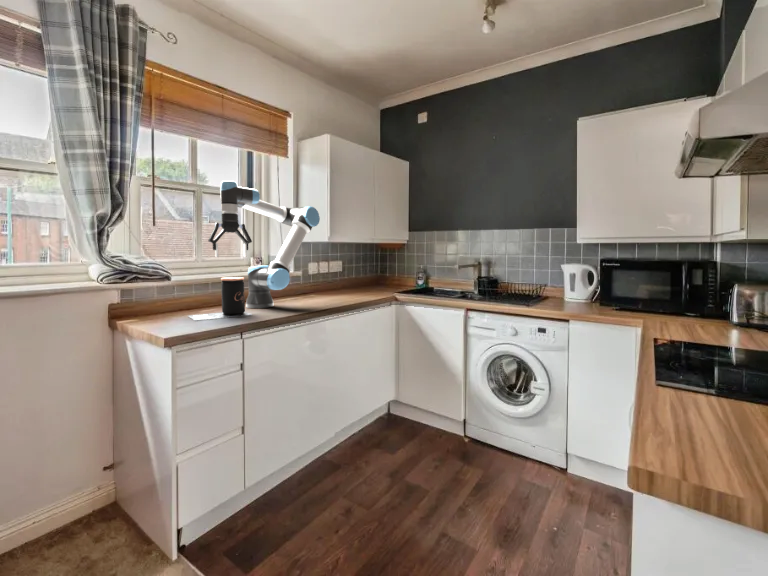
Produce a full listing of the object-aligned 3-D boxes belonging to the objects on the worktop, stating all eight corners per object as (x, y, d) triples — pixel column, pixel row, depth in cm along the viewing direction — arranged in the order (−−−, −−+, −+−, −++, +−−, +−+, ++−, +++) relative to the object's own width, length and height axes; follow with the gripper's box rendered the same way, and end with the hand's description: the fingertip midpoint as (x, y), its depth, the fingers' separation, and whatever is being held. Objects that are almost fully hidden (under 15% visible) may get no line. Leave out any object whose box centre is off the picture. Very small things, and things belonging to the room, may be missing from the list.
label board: (241, 311, 205) (241, 310, 205) (252, 315, 192) (252, 314, 192) (187, 316, 189) (187, 315, 189) (195, 320, 176) (195, 320, 176)
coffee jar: (237, 315, 188) (236, 278, 187) (217, 315, 191) (216, 278, 189) (249, 312, 199) (248, 277, 197) (230, 311, 201) (229, 277, 199)
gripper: (252, 215, 200) (253, 256, 202) (200, 212, 185) (202, 257, 187) (257, 214, 195) (258, 256, 197) (204, 211, 179) (206, 257, 181)
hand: (231, 257), depth 192 cm, fingers open, 13 cm apart
